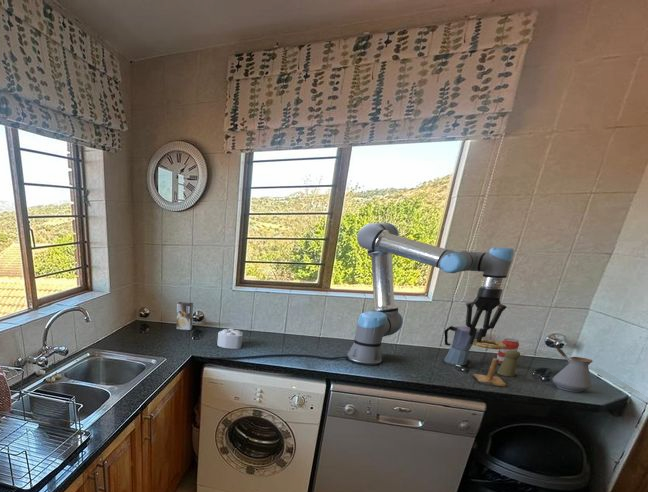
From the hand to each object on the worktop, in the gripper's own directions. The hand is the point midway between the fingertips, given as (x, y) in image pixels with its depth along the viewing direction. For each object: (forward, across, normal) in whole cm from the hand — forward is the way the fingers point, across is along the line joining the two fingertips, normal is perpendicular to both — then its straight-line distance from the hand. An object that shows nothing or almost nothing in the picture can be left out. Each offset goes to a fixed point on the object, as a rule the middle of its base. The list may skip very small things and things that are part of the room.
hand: (474, 343), depth 171 cm
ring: (0, +5, 0) cm, 5 cm away
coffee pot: (+16, +36, +10) cm, 41 cm away
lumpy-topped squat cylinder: (+15, -105, +3) cm, 106 cm away
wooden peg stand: (+16, +9, 0) cm, 18 cm away
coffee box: (+14, -139, +27) cm, 143 cm away
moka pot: (+16, +1, +21) cm, 27 cm away
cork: (+16, +19, +15) cm, 29 cm away
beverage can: (+16, +23, +32) cm, 42 cm away
